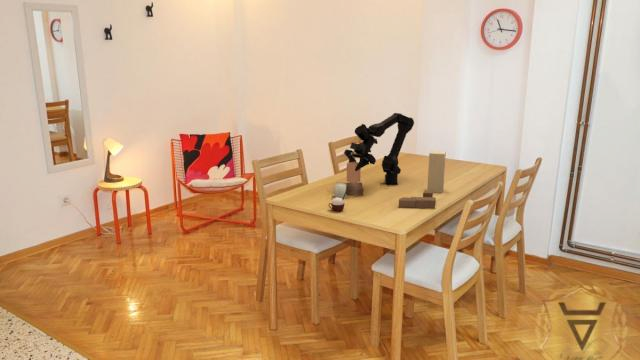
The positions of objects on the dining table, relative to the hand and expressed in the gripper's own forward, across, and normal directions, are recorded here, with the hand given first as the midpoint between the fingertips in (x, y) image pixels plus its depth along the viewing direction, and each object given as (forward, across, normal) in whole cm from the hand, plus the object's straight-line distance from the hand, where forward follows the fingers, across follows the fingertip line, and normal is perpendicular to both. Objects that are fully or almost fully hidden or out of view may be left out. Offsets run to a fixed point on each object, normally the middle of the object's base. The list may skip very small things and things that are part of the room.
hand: (351, 169), depth 271 cm
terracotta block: (+4, 0, +6) cm, 7 cm away
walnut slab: (+7, -5, +12) cm, 15 cm away
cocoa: (+26, +14, -7) cm, 30 cm away
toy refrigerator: (-16, +27, +36) cm, 47 cm away
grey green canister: (+15, 0, +4) cm, 16 cm away
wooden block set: (+1, +33, +19) cm, 38 cm away
